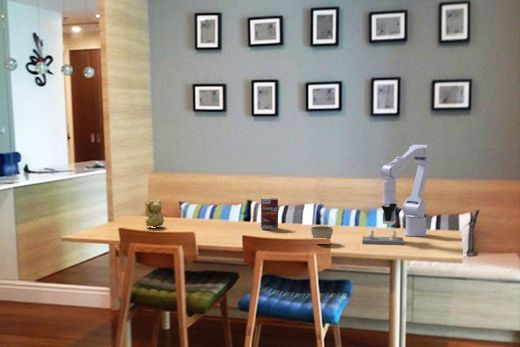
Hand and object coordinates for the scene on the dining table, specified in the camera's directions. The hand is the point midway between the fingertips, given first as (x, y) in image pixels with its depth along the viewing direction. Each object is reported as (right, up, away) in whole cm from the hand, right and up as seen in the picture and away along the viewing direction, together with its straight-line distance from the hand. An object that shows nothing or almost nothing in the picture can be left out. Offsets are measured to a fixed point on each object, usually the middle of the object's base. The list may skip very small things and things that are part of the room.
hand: (389, 220), depth 258 cm
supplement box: (-55, -8, +32) cm, 64 cm away
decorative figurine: (-116, -8, +39) cm, 122 cm away
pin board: (-4, -10, -3) cm, 11 cm away
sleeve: (0, -1, 0) cm, 1 cm away
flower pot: (-32, -11, -5) cm, 34 cm away
